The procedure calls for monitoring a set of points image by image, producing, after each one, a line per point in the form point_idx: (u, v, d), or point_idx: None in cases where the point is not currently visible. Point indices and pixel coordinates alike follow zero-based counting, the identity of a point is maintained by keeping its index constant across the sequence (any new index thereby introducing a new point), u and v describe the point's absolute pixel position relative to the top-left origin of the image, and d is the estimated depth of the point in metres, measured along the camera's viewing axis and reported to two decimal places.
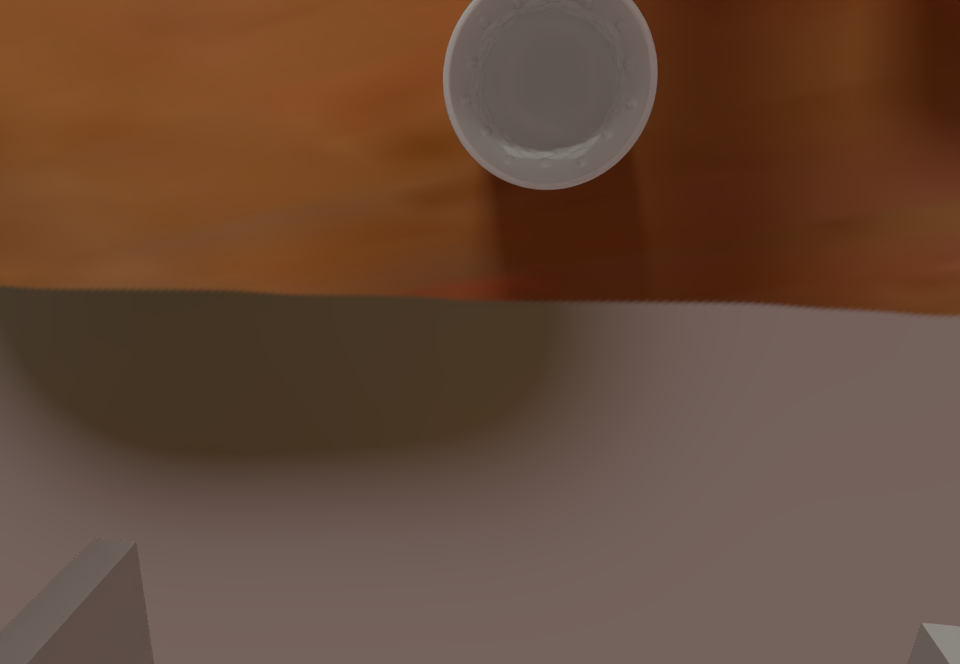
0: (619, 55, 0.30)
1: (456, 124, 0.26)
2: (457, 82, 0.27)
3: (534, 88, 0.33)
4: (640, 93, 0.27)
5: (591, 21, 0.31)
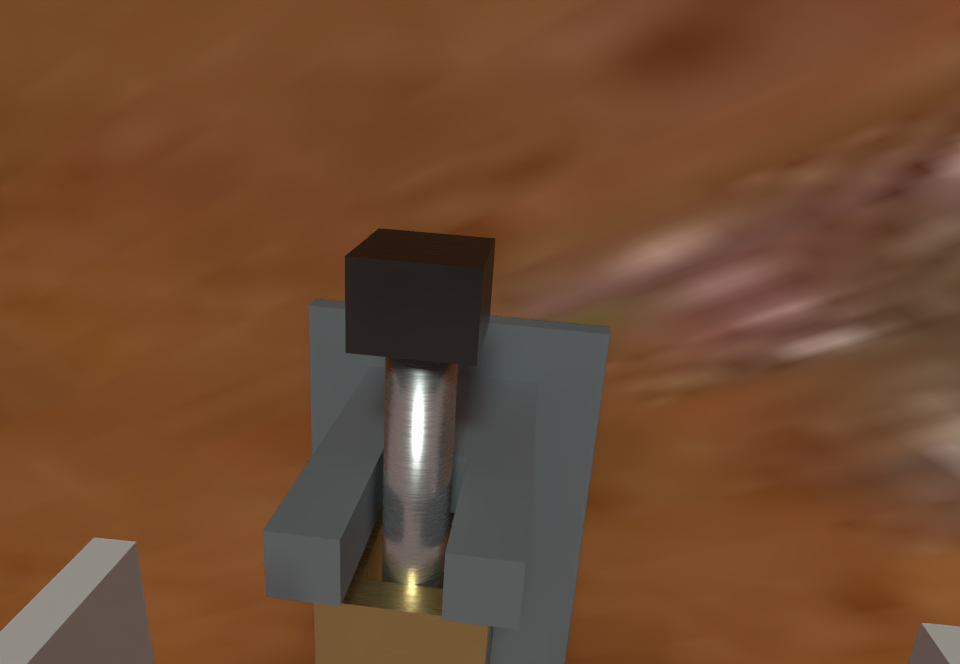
0: None
1: None
2: None
3: None
4: None
5: None
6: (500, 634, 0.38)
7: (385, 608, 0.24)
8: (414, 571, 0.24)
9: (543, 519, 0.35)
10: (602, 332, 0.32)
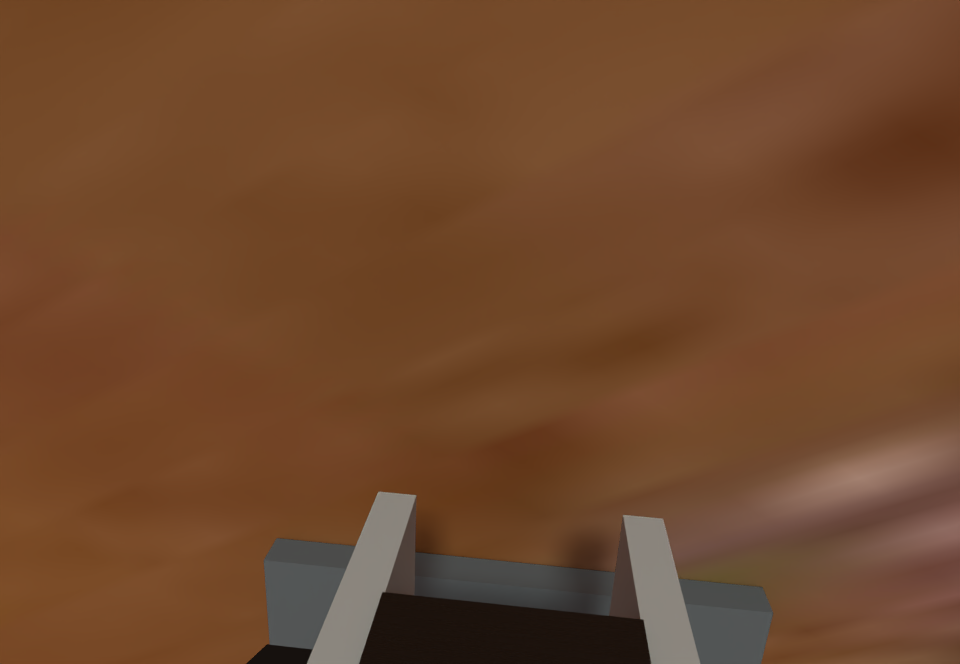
0: None
1: None
2: None
3: None
4: None
5: None
6: None
7: None
8: None
9: None
10: (758, 606, 0.19)
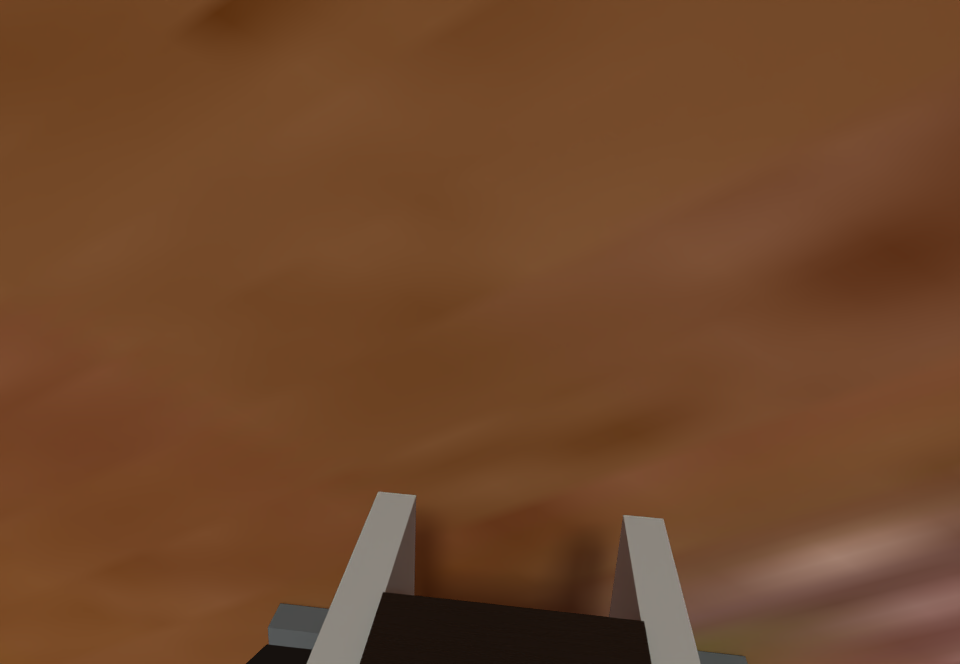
0: None
1: None
2: None
3: None
4: None
5: None
6: None
7: None
8: None
9: None
10: None
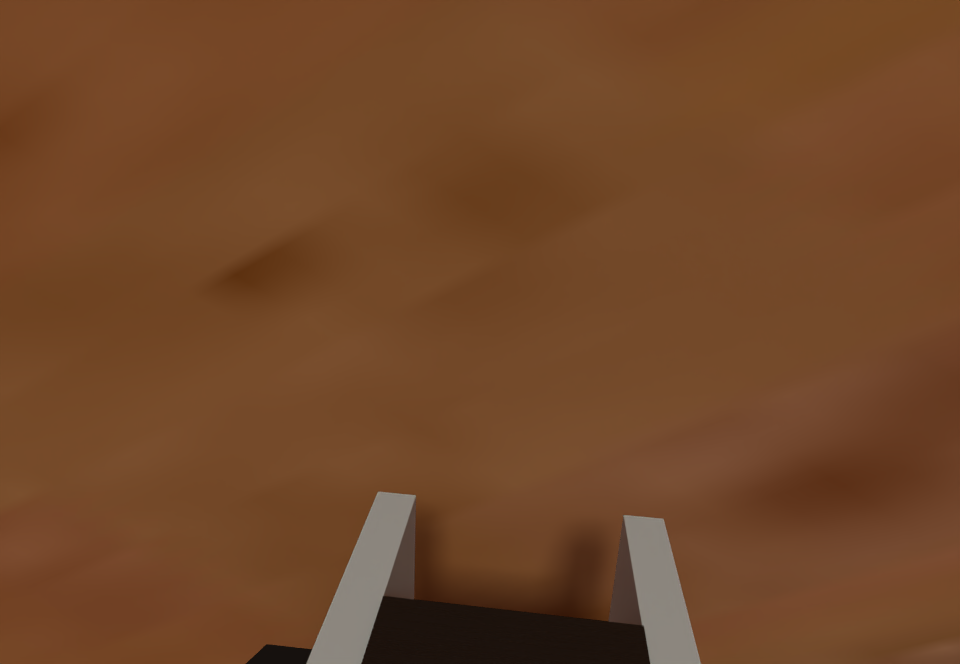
0: None
1: None
2: None
3: None
4: None
5: None
6: None
7: None
8: None
9: None
10: None
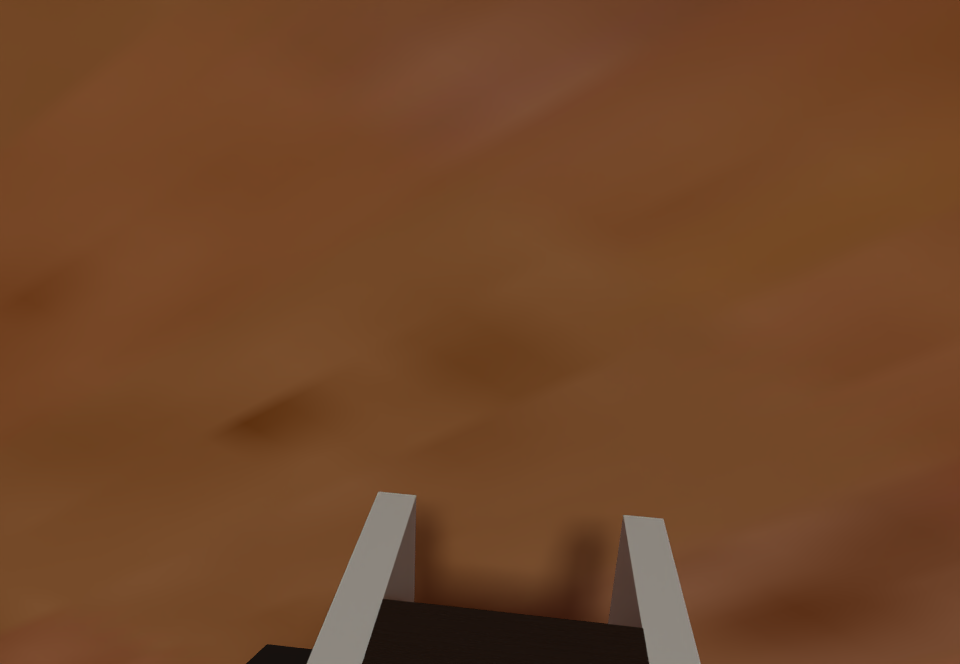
0: None
1: None
2: None
3: None
4: None
5: None
6: None
7: None
8: None
9: None
10: None
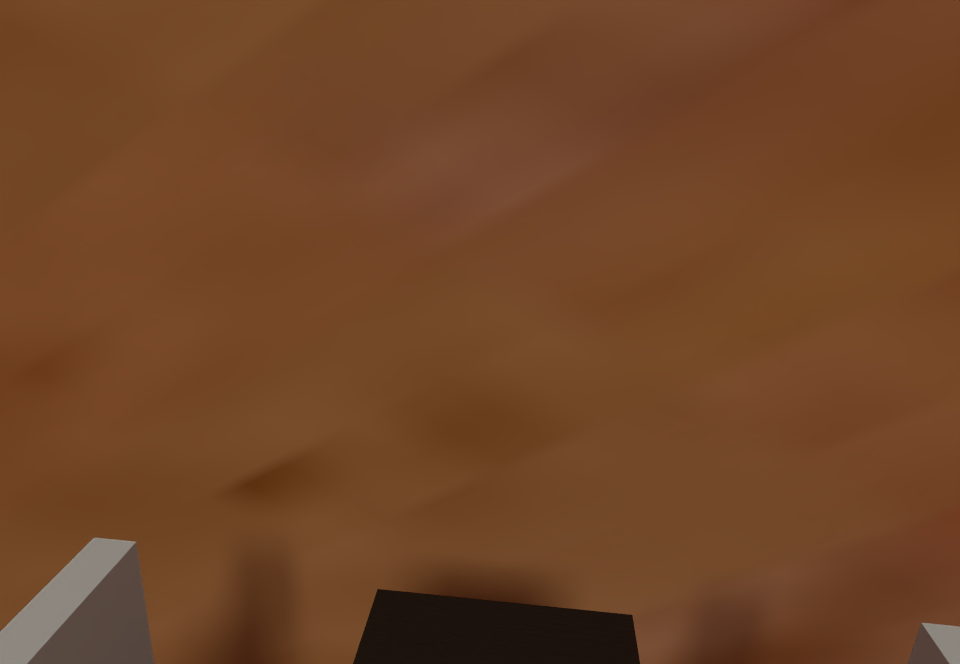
0: None
1: None
2: None
3: None
4: None
5: None
6: None
7: None
8: None
9: None
10: None
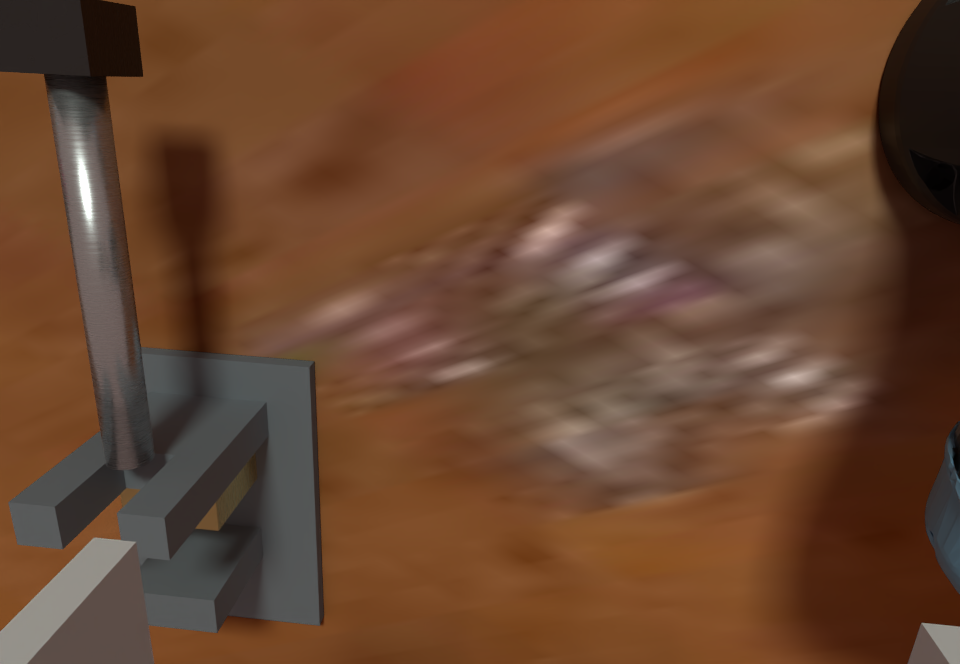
0: None
1: None
2: None
3: None
4: None
5: None
6: (270, 586, 0.51)
7: None
8: (91, 265, 0.33)
9: (286, 500, 0.48)
10: (305, 365, 0.45)
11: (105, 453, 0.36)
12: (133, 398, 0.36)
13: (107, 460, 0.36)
